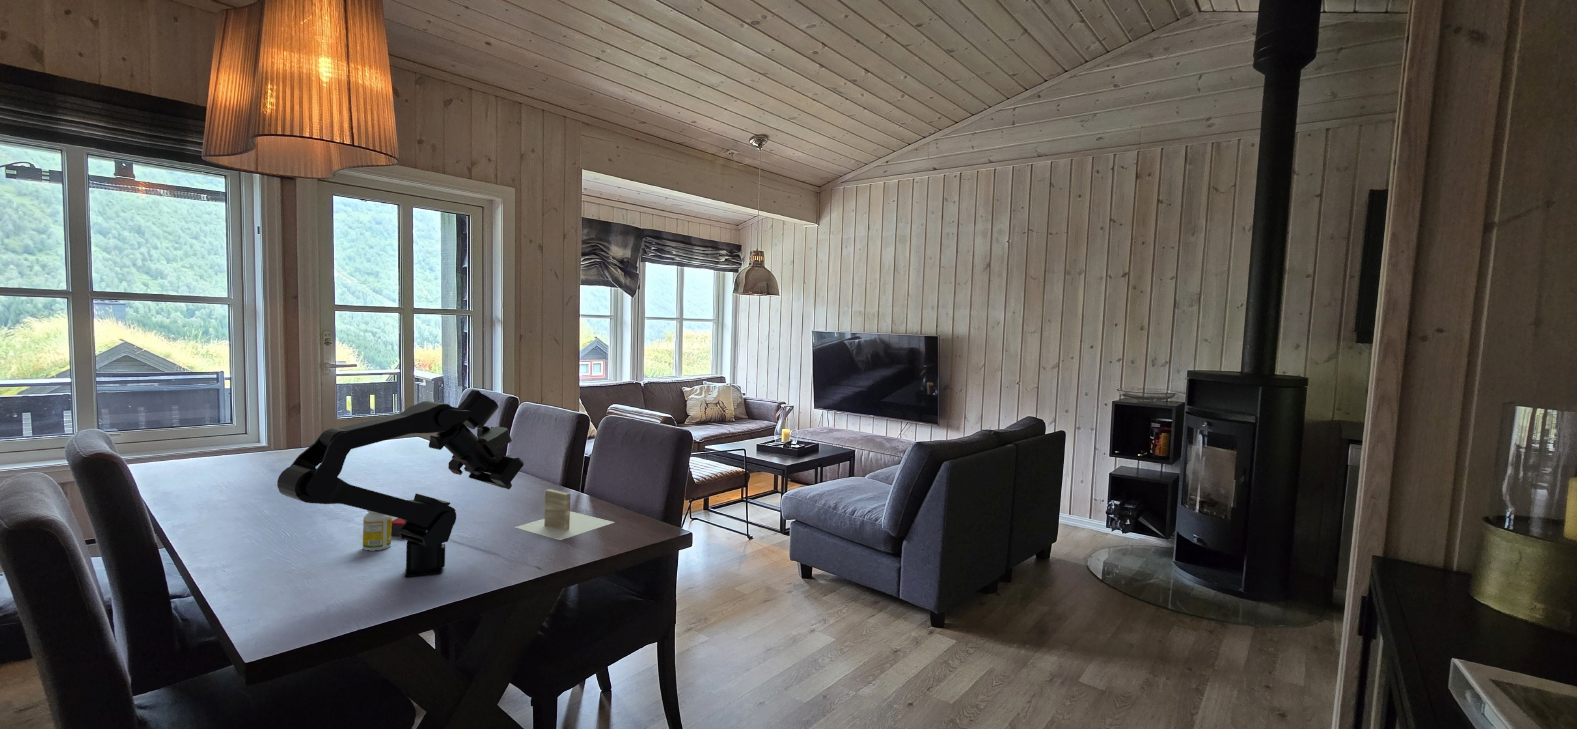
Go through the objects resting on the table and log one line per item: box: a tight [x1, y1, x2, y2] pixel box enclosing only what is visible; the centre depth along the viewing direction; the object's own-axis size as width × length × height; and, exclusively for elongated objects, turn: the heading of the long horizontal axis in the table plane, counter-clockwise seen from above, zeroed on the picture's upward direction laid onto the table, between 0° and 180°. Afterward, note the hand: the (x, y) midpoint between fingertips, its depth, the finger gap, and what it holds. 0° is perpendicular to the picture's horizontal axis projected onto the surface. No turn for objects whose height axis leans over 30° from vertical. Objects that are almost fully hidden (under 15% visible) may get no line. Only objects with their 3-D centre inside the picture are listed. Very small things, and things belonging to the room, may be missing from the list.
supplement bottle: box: [362, 510, 392, 552], centre depth 146 cm, size 5×5×10 cm
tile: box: [544, 488, 571, 531], centre depth 164 cm, size 2×7×9 cm, turn 61°
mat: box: [514, 510, 615, 541], centre depth 167 cm, size 18×16×1 cm
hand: (507, 486), depth 151 cm, fingers closed
